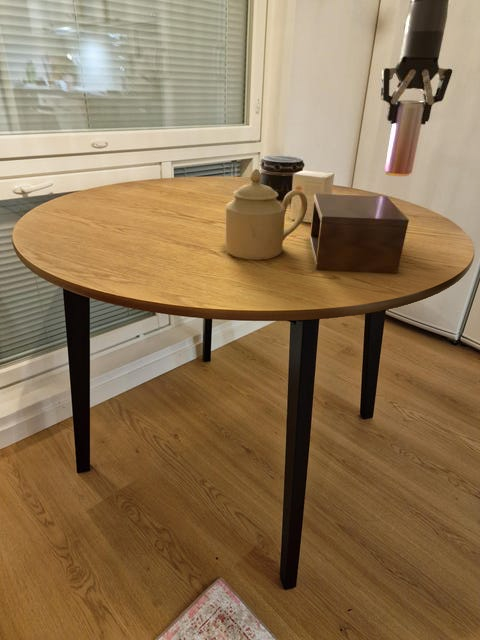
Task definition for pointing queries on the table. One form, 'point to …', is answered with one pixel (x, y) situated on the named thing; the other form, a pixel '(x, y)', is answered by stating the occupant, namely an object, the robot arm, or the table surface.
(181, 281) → the table surface
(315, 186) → the small box
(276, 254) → the sugar bowl
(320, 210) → the open-ended wooden box
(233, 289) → the table surface
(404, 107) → the beverage can
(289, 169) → the container
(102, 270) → the table surface
